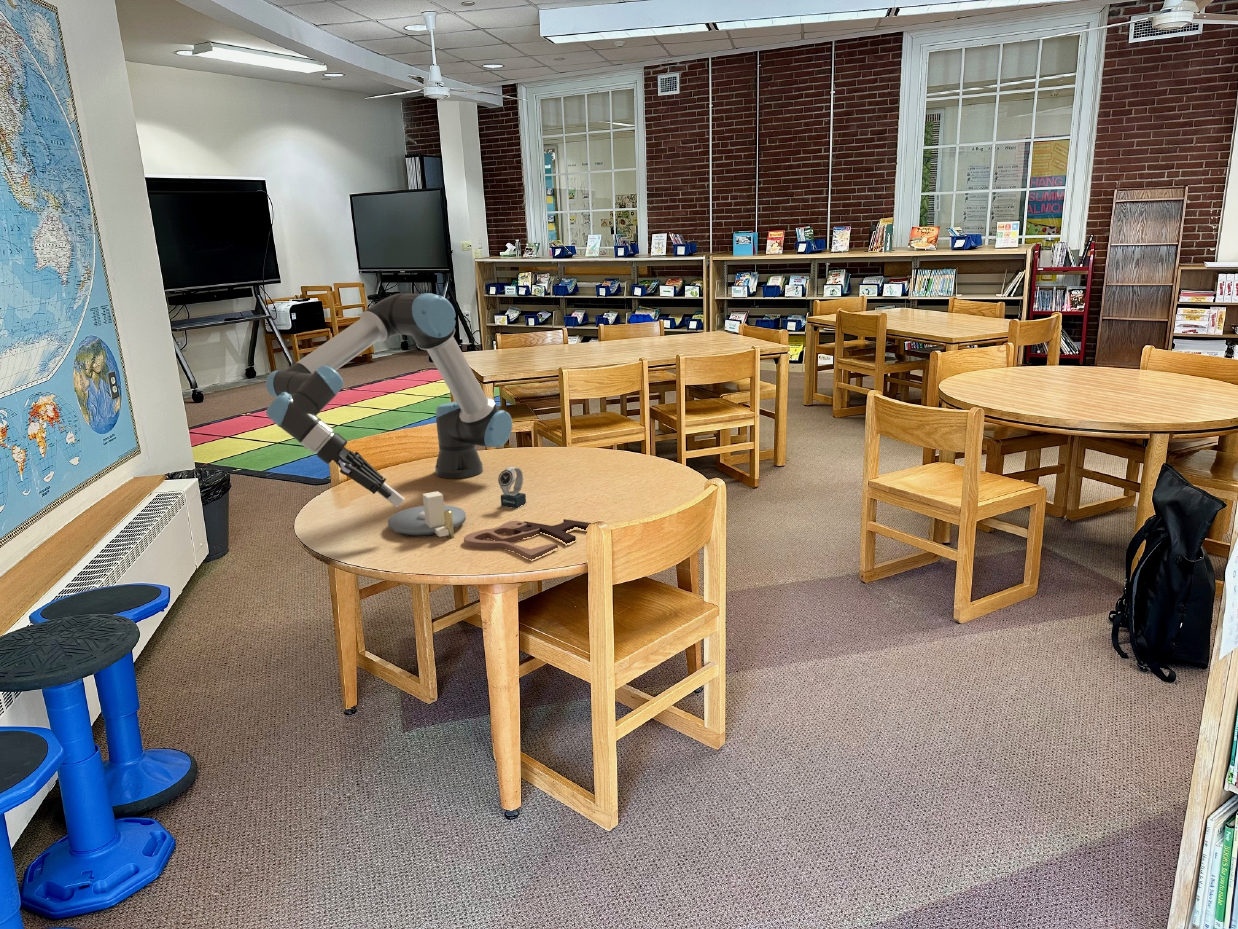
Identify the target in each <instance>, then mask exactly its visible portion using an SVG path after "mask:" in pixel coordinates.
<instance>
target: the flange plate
mask: <svg viewBox="0 0 1238 929" xmlns="http://www.w3.org/2000/svg"><path fill="white" fill-rule="evenodd" d="M422 500H423V505H421V506H416V507H415V506H414V507H410V508H409V507H408V508H406V509H403V510H400V511H398V512H396V513H394V514H392V515H390V516H389V518H388V520H387V524H388V525H387V526H388V528H389V529H390V530H391V531H392V532H393V531H394V532H396V533H398V532H399V533H398V534H400V533H404V534H429V533H436V534H437V535H436V536H438V537H440V538H441V537H446V535H449V533H448V530H447V529H446V528H445V519H444V511H445V510H452V518H453V528H455V527H457V526H461V525H462V524H464V523H465V521H466V519H467V516H466V511H465V510H464V509H463V508H461V507H457V506H453V505H447V504H445V502H444V495H443V493H441V492H439V491H438V490H437V491H432V492H427V493H423V494H422ZM457 528H458V527H457ZM455 529H456V528H455Z"/></svg>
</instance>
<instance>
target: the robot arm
mask: <svg viewBox="0 0 1238 929" xmlns="http://www.w3.org/2000/svg"><path fill="white" fill-rule="evenodd" d="M359 318H360V319H358V320H357V321H355V322H354V323H352V324H350V325H349V326H348V327H347V328H345V329H344V330H342V331H340V332H339V333H337V334H336V335H334V336H333V337H331V338H330V339H328V341H326V342H324V343H323V344H321V345H319V347H317V348H316V349H314V350H312V352H310V353H308V354H307V355H305V356H304V357H302V358H301V359H300V360H298V361H297V362H295V363H294V364H292V365H291V366H289V367H288V368H286V369H276V370H274V371H272V372H270V373H269V374H268V376H267V377H266V381H265V387H266V391H267V393H268V394H269V395H270V396H271V397H273V398H275V399H274V400H273V401H272V402H271V403H270V404H269V405H268V406H267V408H266V411H265V414H266V416H267V417H268V418H269V419H270V420H271V421H272V422H273V423H274V424H275V425H277V427H279V428H281V429H282V430H283V431H284V432H286V434H288V435H290V437H292V438H294V439H295V440H296V441H298V442H299V443H300V444H301V445H302V446H303V448H304V449H305V450H307V449H308V450H309V451H310V452H311V453H316V457H317V458H319V459H320V460H321V461H322V462H324V463H325V464H327V465H329V464H330V463H331V462H332V461H333V462H334V463H336V465H337V467H339V468H340V470H339V473H340V474H342V475H345V476H346V477H348V478H350V479H351V480H353V481H354V482H356V483H357V484H359V485H360V486H362V487H363V488H365V489H367V491H369V492H371V493H372V494H373V495H374V494H376V493H378V494H379V495H380V496H382V497H383V498H384V499H385V500H386V501H387V502H389V503H390V504H391V505H393V507H395V508H399V507H400V505H401V504H402V503H404V501H405V499H406V498H405V497H404V496H402V495H401V494H400V493H399V492H398V491H396V490H395V489H394V488H393V487H391V486H390V485H388V484H387V482H386V481H387V478H386V477H384V476H383V475H381V473H379V471H378V470H376V469H375V468H374V467H373V466H372V465H371V464H370V463H369V462H368V461H367V460H366V459H364V457H363V456H362V455H361V454H360V453H359V452H358V451H355V452H354V451H351V450H350V449H349V448H348V449H347V448H346V447H345V446H346V445H347V444H348V440H347V439H346V438H345V437H344V436H342V435H341V434H340V433H337V432H335V433H334V431H335V429H333V428H332V426H330V425H329V424H328V423H327V422H325V421H323V420H322V419H321V418H320V417H319V416H317V415H318V414H320V412H321V411H322V410H323V409H324V408H325V407H326V406H327V405H328V404H329V403H330V402H331V401H332V400H333V399H334V398H335V397H336V396H337V395H338V393H339V392H340V391H341V390H342V388H343V387H344V380H343V377H342V376H341V375H340V373H339V372H337V371H338V370H339V369H340V368H342V367H343V366H344V365H347V363H349V362H350V361H351V360H353V359H354V358H356V357H357V356H358V355H360V354H362V353H363V352H364V351H366V350H367V349H369V348H370V347H371V346H372V345H374V344H376V343H377V342H378V343H383V342H385V341H386V340H387V339H389V338H391V337H395V336H399V335H401V336H402V335H403V336H412V338H413V340H414V341H415V344H416V345H417V347H418V348H419V349H420V350H423V351H427V353H428V355H429V357H430V358H431V361H432V362H433V364H434V365H435V367H436V370H437V371H438V372H439V374H440V377H442V379H443V381H444V383H445V385H446V387H447V388H448V390H449V391H450V394H451V395H452V397H453V399H454V401H450V402H446V403H442V404H439V405H438V406H437V407H436V410H435V415H436V416H435V420H436V431H437V442H438V455H437V459H436V463H435V467H434V468H435V475H436V476H437V477H440V478H443V479H462V478H470V477H474V476H477V475H480V474H481V473H483V471H484V468H483V467H484V466H483V463H482V460H481V458H480V456H479V452H478V450H477V448H476V447H477V446H480V447H481V446H482V447H485V448H501V447H502V446H504V445H505V444H506V443H507V441H508V440H509V439H510V436H511V434H512V429H513V419H512V416H511V414H509V412H507V411H505V410H504V409H501V410H500V409H499V408H498V405H497V404H496V402H495V400H494V399H493V398H492V397H491V396H486V394H485V392H484V390H483V388H482V386H481V385H480V383H479V381H478V379H477V377H476V376H475V373H474V371H473V370H472V368H471V366H470V364H469V362H468V360H467V359H466V357H465V356H464V354H463V351H462V350H461V348H460V346H459V344H458V342H457V341H456V339H455V337H454V335H455V332H456V328H455V326H456V322H457V321H456V319H455V318H456V311H455V308H454V306H453V304H452V303H451V302H450V301H449V300H448V299H447V298H446V297H444V296H442V295H439V294H434V293H431V292H430V293H429V292H428V293H427V292H426V293H408V292H407V293H405V292H404V293H403V292H400V293H396V294H393V295H392V294H391V295H389V296H388V297H386V298H384V299H382V300H380V301H378V302H377V303H375V304H373V305H372V306H370V307H369V308H367V309H366V310H364V311H363V312H362V313H361V314H360V317H359Z"/></svg>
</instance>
